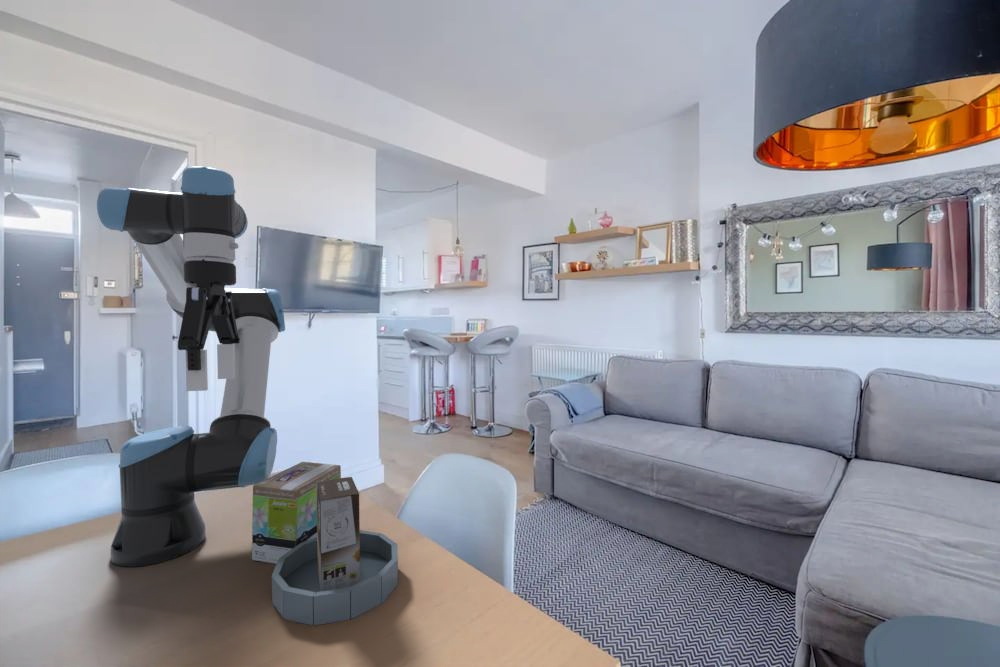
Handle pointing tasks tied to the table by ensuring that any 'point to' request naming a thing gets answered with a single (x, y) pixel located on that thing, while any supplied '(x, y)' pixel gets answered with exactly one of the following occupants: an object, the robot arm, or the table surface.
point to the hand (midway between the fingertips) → (213, 384)
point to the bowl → (311, 606)
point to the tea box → (287, 509)
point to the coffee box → (338, 534)
